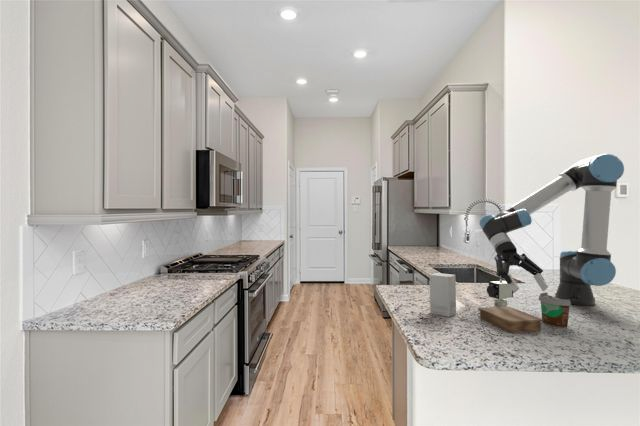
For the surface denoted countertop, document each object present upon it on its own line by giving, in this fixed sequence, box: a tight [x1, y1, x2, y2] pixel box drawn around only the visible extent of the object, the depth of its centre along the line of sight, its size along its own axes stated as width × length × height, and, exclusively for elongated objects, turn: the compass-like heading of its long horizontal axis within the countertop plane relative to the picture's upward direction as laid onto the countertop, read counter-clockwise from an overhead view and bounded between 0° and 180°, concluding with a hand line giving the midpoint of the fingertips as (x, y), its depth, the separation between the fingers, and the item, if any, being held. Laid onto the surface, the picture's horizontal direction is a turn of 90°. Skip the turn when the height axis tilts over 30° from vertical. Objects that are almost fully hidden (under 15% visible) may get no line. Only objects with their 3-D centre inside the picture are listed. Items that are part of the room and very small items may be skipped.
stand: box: [478, 306, 543, 333], centre depth 131 cm, size 13×17×4 cm
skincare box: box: [429, 272, 457, 318], centre depth 144 cm, size 8×7×16 cm
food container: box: [538, 292, 572, 328], centre depth 133 cm, size 12×6×10 cm, turn 5°
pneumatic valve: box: [486, 279, 515, 307], centre depth 154 cm, size 6×12×12 cm, turn 114°
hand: (531, 289), depth 140 cm, fingers open, 13 cm apart
